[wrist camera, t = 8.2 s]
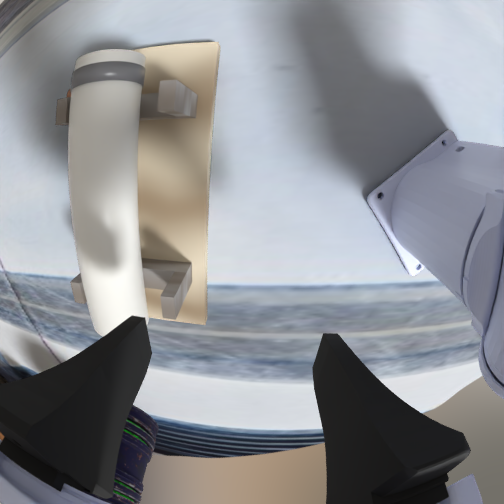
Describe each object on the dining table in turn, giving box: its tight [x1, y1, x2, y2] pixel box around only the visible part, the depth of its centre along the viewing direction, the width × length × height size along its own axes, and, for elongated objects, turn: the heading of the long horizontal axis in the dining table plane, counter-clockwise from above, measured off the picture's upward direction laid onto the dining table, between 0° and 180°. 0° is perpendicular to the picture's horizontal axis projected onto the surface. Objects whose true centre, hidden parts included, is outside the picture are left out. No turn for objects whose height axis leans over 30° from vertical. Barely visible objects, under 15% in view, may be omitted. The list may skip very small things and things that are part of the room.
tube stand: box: [56, 42, 220, 325], centre depth 15 cm, size 20×9×6 cm, turn 175°
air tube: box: [68, 49, 149, 337], centre depth 13 cm, size 16×4×4 cm, turn 175°
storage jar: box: [84, 405, 158, 504], centre depth 22 cm, size 10×10×15 cm
